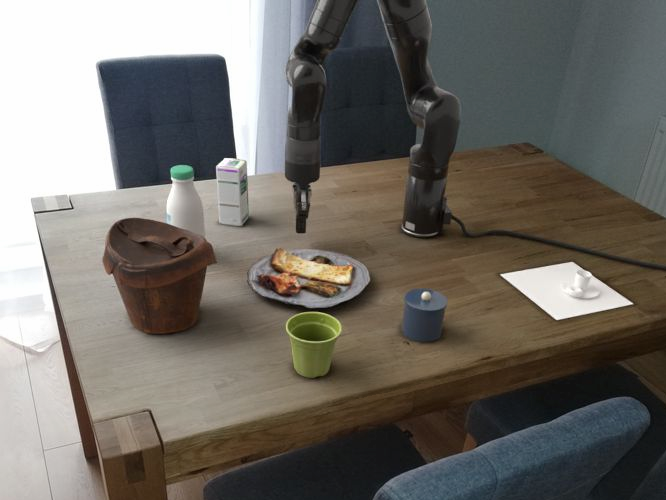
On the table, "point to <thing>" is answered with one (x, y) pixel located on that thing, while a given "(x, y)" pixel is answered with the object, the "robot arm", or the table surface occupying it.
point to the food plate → (308, 277)
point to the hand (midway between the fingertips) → (300, 231)
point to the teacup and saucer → (565, 290)
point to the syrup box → (232, 191)
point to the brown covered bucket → (158, 272)
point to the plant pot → (313, 342)
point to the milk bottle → (185, 202)
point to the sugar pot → (423, 314)
